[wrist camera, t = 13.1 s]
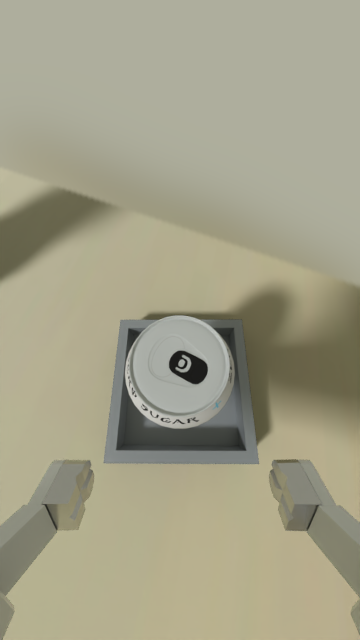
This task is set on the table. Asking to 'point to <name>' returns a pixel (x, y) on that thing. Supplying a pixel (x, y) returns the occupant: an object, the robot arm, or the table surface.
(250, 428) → the gray tray
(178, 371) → the energy drink can
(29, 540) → the robot arm
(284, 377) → the table surface
